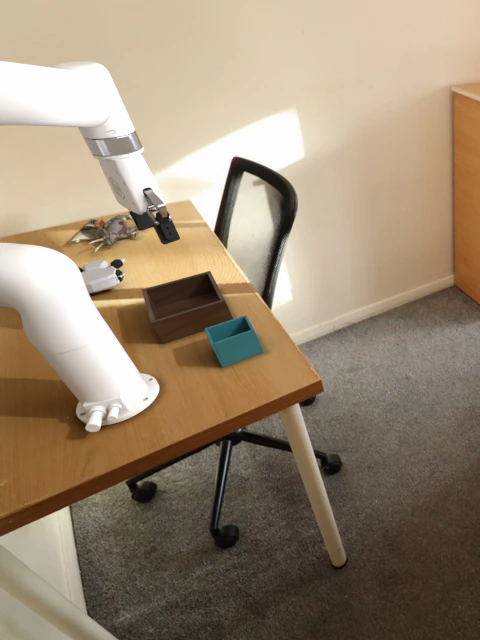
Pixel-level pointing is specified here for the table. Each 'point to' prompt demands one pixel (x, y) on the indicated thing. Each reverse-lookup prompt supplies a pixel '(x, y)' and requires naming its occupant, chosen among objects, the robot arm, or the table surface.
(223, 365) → the box
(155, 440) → the table surface
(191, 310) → the crate
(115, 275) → the robot toy
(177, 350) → the table surface
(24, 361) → the table surface
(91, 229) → the figurine
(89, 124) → the robot arm
